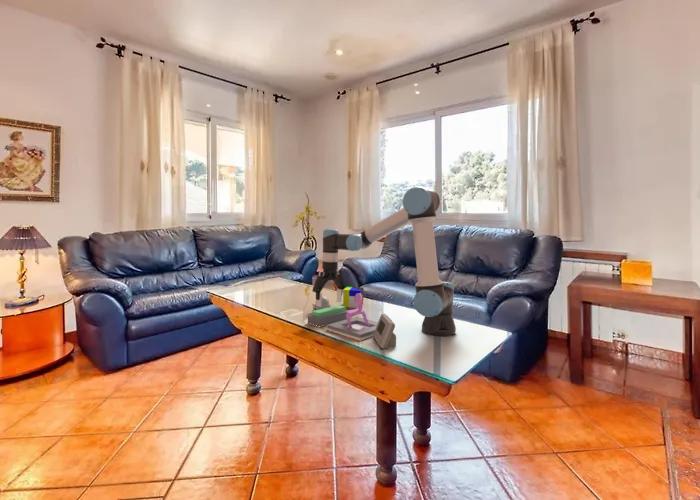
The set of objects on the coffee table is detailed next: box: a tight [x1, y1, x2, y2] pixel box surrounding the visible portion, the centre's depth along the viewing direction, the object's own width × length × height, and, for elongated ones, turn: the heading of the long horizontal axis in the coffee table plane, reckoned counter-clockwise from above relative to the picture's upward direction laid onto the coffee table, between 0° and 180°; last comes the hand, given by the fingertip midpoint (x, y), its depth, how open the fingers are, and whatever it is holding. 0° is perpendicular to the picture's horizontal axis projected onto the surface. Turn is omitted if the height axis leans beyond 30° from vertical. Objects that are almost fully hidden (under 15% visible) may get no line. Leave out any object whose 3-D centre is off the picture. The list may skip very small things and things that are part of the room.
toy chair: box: [346, 293, 370, 328], centre depth 168 cm, size 8×9×15 cm
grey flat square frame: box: [326, 316, 378, 342], centre depth 169 cm, size 20×20×2 cm
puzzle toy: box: [342, 286, 365, 309], centre depth 216 cm, size 10×10×10 cm
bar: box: [311, 305, 347, 318], centre depth 183 cm, size 5×18×3 cm, turn 137°
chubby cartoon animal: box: [311, 295, 332, 312], centre depth 198 cm, size 7×12×8 cm, turn 140°
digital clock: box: [372, 313, 397, 350], centre depth 152 cm, size 16×9×11 cm, turn 177°
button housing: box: [307, 309, 349, 327], centre depth 183 cm, size 8×21×4 cm, turn 137°
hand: (329, 304), depth 183 cm, fingers open, 13 cm apart
